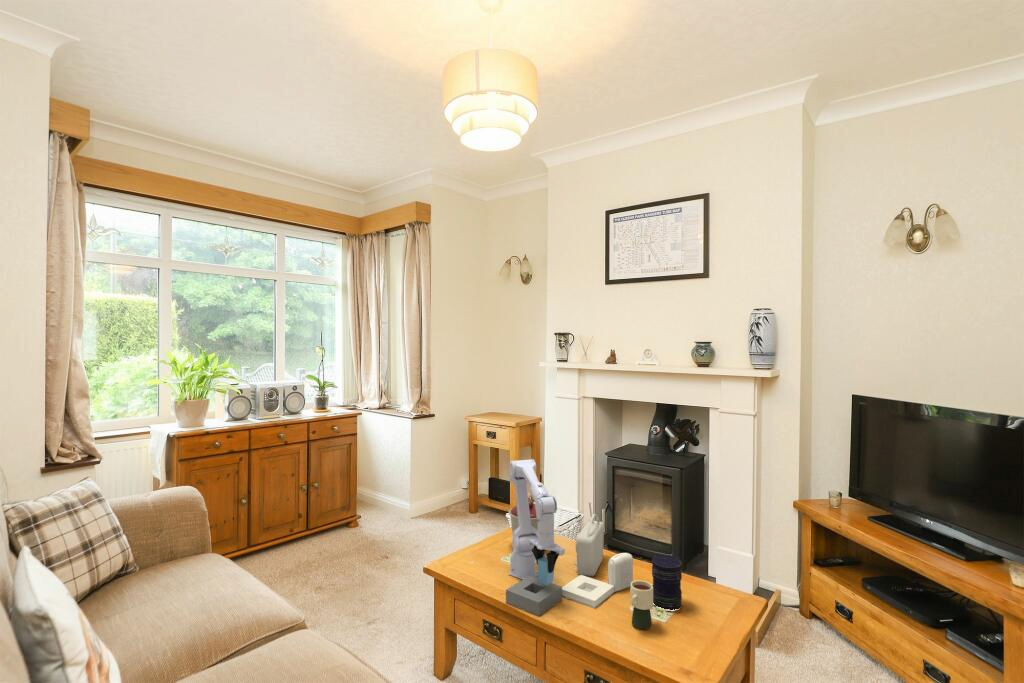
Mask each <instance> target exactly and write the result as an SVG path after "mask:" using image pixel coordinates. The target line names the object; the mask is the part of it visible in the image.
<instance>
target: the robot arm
mask: <svg viewBox="0 0 1024 683" xmlns="http://www.w3.org/2000/svg"><path fill="white" fill-rule="evenodd" d="M508 464H509V465H508V476H509V480H510V483H512V484H513V485H514V486H513V487H514V493H515V501H516V502H515V505H516V506H517V514H518V523H519V527H518V528H517V529H516V530H515V531H514V532H513V534H512V540H511V541H512V542H511V543H512V544H511V545H512V549H513V551H512V552H511V555H510V572H509V573H508V575H509V576H512V577H514V578H517V579H520V580H523V579H525V578H526V577H528V576H533V577H536V578H538V571H536V569H537V567H538V559H540V558H542V557H543V556H546V557H547V559H548V571H549V573H551V572H553V571H555V567H556V562H557V560H558V558H559V557H560V556H564V555H565V552H566V551H565V550H566V549H565V548H564V547H562V546H561V545H558V544H557V543H555V513H557V511H558V503H557V500H556V497H555V496H554V495H552V494H550V493H549V491H548V490H547V488H546V486H545V485H544V484H543V483H542V482H540V481H539V479H538V476H537V463H536V461H535V460H534V458H530V459H522V460H521V459H520V460H510V462H509V463H508ZM527 485H528V486H529V487H530V488H529V493H530V495H531V497H532V499H533V502H534V504H535V509H536V516H537V518H538V531H537V530H536V529H535V528H534V527H532V526H531V520H530V511H529V502H528V501H529V496H528V486H527ZM527 533H531V534H529V535H521V534H527ZM520 535H521V536H520ZM545 550H546V551H547V553H546V555H545ZM548 551H549V552H548ZM536 565H537V567H536Z"/></svg>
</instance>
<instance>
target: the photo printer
mask: <svg viewBox="0 0 1024 683" xmlns="http://www.w3.org/2000/svg"><path fill="white" fill-rule="evenodd" d="M607 564H608V565H607V570H608V571H607V584H610V585H613V586H614V593H615V592H619V591H622V590H625V589H627V588H630V587H631V582H633V581H634V559H633V555H632V554H630V553H629V552H621V553H617V554H615V555H613V556H612V557H611V558H609V560H608V563H607Z"/></svg>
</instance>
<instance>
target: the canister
mask: <svg viewBox="0 0 1024 683" xmlns="http://www.w3.org/2000/svg"><path fill="white" fill-rule="evenodd" d="M528 502H529V511H530V520H531V526H532V527H534V528H535V529H536V530H537V531H538V518H537V516H536V509H535V502H534V501H532V500H528ZM508 514H509V515H510V523H511V533H512V535H513V532H514V531H515V530H516V529H517V528H518V527H519V523H518V514H517V505H515V506H513V507H511V508H510V509H509V511H508ZM529 534H531V533H527V534H521V535H529ZM521 535H520V536H521Z"/></svg>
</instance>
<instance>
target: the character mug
mask: <svg viewBox="0 0 1024 683" xmlns="http://www.w3.org/2000/svg"><path fill="white" fill-rule="evenodd" d="M629 588H630V591H629V592H630V600H629V602H630V604H631V605H632V606H631V607H633V610H632V616H631V624H632V626H634V627H636V628H639V629H645V630H647V629H648V630H649V629H650V628H652V624H653V623H652V622H653V621H652V615H651V609H653V606H654V605H653V583H651V582H649V581H647V580H641V579H640V580H639V579H638V580H633V582H631V587H629Z"/></svg>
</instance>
